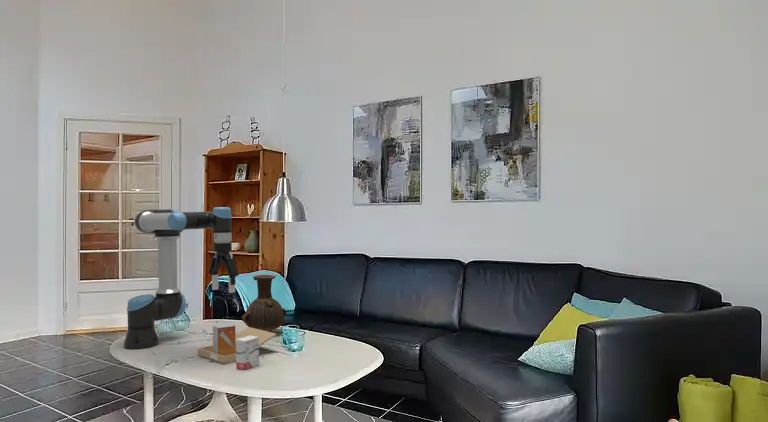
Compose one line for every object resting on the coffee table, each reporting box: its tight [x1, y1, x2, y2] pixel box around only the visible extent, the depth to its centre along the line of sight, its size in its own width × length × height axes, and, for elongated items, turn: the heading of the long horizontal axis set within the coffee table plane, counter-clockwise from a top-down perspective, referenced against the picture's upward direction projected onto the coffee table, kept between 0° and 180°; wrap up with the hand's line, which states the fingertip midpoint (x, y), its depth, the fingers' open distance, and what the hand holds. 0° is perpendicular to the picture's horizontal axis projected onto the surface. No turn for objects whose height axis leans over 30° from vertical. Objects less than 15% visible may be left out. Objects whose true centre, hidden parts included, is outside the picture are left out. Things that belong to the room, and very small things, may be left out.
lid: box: [235, 326, 277, 347], centre depth 250 cm, size 22×14×1 cm, turn 47°
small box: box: [212, 322, 236, 356], centre depth 240 cm, size 8×6×13 cm
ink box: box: [235, 336, 260, 371], centre depth 224 cm, size 9×5×12 cm, turn 148°
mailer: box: [197, 344, 236, 365], centre depth 240 cm, size 21×14×3 cm, turn 47°
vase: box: [241, 274, 287, 333], centre depth 283 cm, size 25×20×30 cm
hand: (223, 291), depth 240 cm, fingers open, 13 cm apart
